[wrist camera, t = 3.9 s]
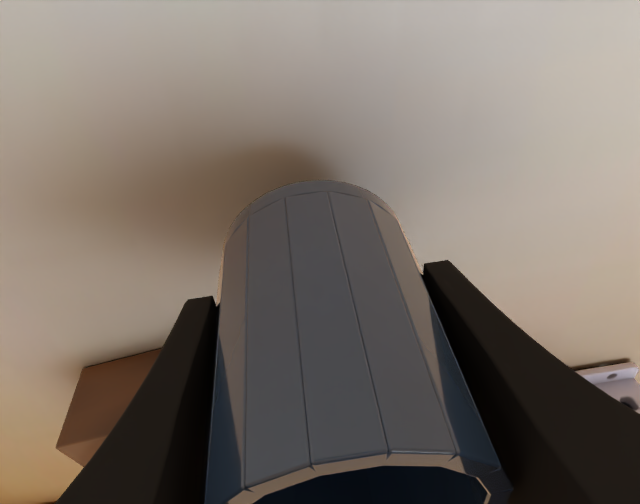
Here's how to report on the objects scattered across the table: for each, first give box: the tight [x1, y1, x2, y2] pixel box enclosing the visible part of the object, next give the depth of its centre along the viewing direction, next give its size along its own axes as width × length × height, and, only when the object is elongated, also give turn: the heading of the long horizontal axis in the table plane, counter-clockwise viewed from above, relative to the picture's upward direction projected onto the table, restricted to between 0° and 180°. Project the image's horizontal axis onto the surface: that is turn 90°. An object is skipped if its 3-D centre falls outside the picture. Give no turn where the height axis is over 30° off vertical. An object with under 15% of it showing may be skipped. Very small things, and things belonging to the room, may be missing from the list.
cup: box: [199, 180, 514, 504], centre depth 10 cm, size 5×5×7 cm
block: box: [56, 349, 161, 467], centre depth 20 cm, size 8×8×4 cm
